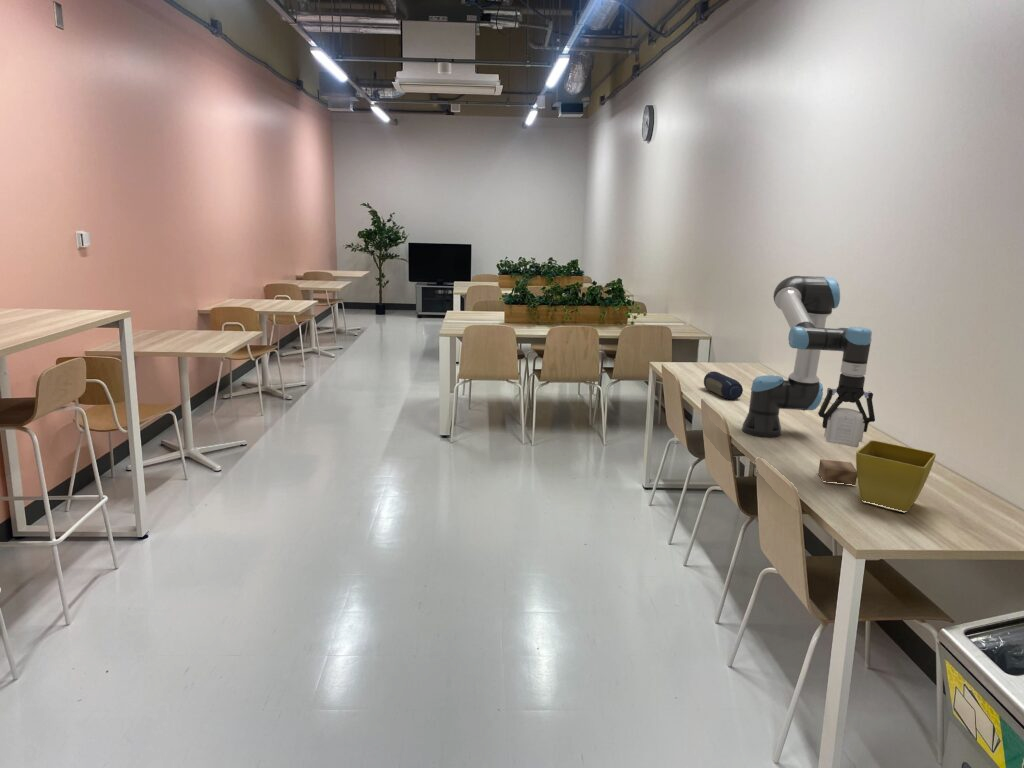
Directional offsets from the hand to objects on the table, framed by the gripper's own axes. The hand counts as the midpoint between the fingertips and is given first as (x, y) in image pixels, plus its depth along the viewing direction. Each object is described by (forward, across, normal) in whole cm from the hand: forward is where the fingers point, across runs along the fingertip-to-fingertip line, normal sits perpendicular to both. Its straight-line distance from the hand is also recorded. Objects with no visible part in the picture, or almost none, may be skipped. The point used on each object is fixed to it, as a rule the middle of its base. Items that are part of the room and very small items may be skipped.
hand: (842, 439), depth 240 cm
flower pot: (+15, +12, -17) cm, 25 cm away
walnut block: (+15, 0, 0) cm, 15 cm away
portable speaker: (+14, -34, +108) cm, 114 cm away
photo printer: (+2, 0, 0) cm, 2 cm away
